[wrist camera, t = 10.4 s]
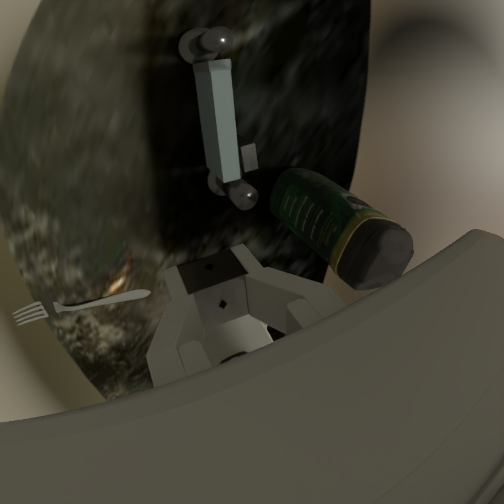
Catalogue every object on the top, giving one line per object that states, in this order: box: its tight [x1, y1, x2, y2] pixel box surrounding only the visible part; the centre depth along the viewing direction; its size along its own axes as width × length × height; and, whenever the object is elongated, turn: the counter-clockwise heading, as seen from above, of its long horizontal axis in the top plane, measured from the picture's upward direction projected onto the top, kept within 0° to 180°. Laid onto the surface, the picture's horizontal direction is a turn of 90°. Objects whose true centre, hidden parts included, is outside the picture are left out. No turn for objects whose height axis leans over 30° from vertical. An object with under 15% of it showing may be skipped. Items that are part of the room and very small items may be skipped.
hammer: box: [207, 135, 258, 210], centre depth 30 cm, size 7×5×6 cm
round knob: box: [178, 26, 233, 64], centre depth 21 cm, size 4×4×6 cm
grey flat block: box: [193, 59, 241, 183], centre depth 26 cm, size 12×2×6 cm, turn 4°
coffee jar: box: [269, 168, 414, 290], centre depth 33 cm, size 10×8×19 cm
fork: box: [12, 290, 151, 326], centre depth 34 cm, size 3×24×2 cm, turn 82°
